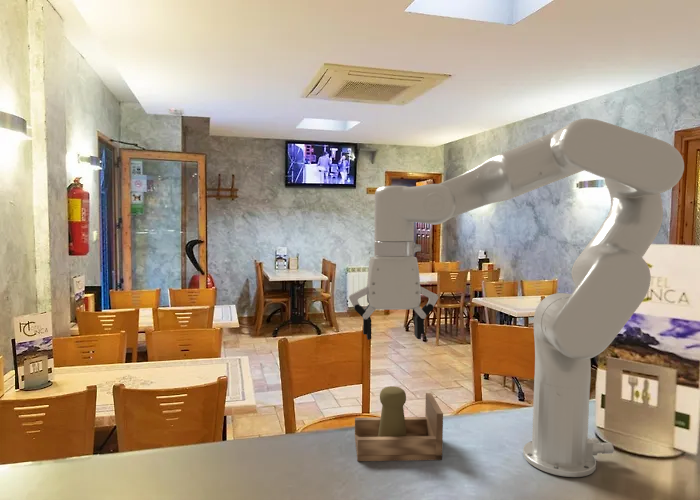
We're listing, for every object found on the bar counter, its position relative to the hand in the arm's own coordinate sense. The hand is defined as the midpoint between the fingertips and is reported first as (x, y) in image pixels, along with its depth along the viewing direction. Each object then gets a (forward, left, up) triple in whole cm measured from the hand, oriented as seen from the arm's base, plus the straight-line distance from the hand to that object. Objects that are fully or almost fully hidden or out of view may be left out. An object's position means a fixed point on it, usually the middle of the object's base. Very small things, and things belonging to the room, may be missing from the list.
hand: (393, 337), depth 94 cm
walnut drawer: (-1, 0, -22) cm, 22 cm away
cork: (0, 0, -21) cm, 21 cm away
